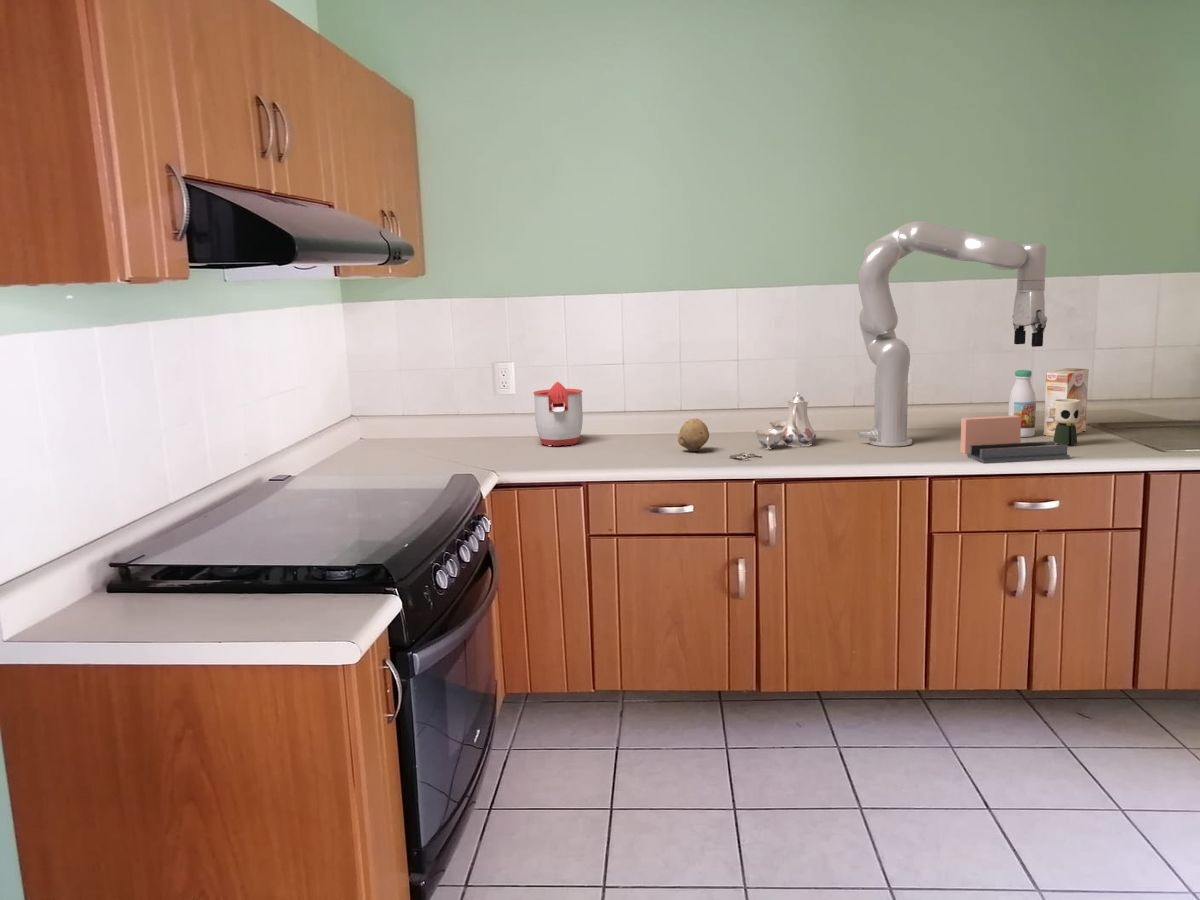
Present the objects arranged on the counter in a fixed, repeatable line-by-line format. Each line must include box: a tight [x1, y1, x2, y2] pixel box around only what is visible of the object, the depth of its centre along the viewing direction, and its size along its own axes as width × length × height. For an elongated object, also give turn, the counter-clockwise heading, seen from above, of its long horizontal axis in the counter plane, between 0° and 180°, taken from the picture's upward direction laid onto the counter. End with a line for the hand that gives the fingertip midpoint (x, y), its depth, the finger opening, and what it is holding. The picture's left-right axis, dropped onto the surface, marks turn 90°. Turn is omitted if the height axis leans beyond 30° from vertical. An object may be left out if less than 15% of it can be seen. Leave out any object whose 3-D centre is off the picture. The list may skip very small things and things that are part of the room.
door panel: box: [959, 415, 1021, 455], centre depth 289 cm, size 16×3×10 cm, turn 95°
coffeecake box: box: [1042, 367, 1090, 437], centre depth 314 cm, size 15×7×20 cm, turn 132°
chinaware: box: [754, 391, 817, 450], centre depth 313 cm, size 28×17×17 cm, turn 161°
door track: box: [966, 440, 1071, 464], centre depth 280 cm, size 24×10×4 cm, turn 95°
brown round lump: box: [677, 418, 710, 453], centre depth 306 cm, size 9×9×10 cm
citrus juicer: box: [532, 381, 584, 447], centre depth 326 cm, size 16×17×20 cm
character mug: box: [1048, 399, 1087, 445], centre depth 296 cm, size 11×7×13 cm, turn 91°
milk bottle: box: [1007, 369, 1037, 438], centre depth 313 cm, size 8×8×20 cm
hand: (1028, 345), depth 303 cm, fingers open, 9 cm apart
